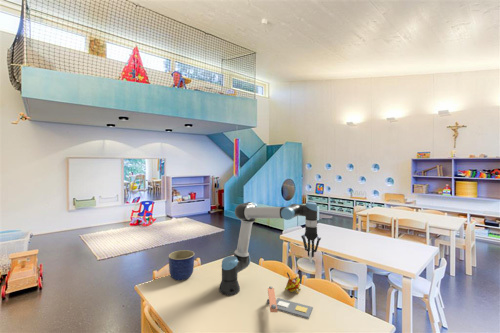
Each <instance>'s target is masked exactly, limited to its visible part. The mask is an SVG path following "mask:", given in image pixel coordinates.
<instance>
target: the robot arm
mask: <svg viewBox="0 0 500 333" xmlns="http://www.w3.org/2000/svg"><path fill="white" fill-rule="evenodd" d="M234 215H235V217H236V218H237V219H238V220H240V222H241V223H240V230H239V234H238V240H237V246H236V247H237V248H236V249H235V250H234V252H233V255H229V256H226V257H224V258H223V259H222V260H221V281H220V284H219V288H218V289H219V291H218V292H219V293H220V295H223V296H234V295H237V294H238V293H240V291H241V290H240V288H241V287H240V284H239V280H238V274H239V273H240V272H242V271H243V270H245V269H246V268H248V267H249V265H250V264H251V257H250V253H249V252H248V251H249V247H250V246H249V245H250V239H251V233H252V228H253V223H255V221H256V219H283V220H286V221H289V220H292V219H294V218H296V217H298V216H299V217H305V220H304V221H305V223H304V224H305V227H304V228H305V230H304V234H302V235H301V236H300V237H301V239H302V244H303V247H304V250H305V251H306V252H307V257H309V258H308V262H309V263H313V258H314V257H315V253H316V252H317V251H318V248H319V244H320V241H321V239H322V237H320V236H319V235H318V204H317V203H316V202H313V201H312V202H311V201H307V202H305V204H298V203H290V204H289V203H288V206H258V204H257V203H256V202H254V201H248V202H243V203H240V204H238V205H237V206H236V207H235V208H234ZM315 240H316V243H315Z"/></svg>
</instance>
